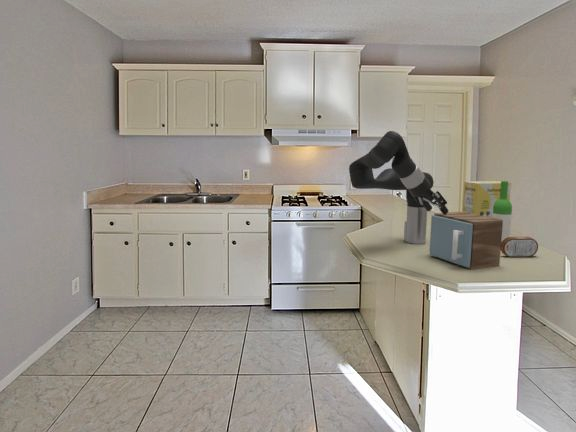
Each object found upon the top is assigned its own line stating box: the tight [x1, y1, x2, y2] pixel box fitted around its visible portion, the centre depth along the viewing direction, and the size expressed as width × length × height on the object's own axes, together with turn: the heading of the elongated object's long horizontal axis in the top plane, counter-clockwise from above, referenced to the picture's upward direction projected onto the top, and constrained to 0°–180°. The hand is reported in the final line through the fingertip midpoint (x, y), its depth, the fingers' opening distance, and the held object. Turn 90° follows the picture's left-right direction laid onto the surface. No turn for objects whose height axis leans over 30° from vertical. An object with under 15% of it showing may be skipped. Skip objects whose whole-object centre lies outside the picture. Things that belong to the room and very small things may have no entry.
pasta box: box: [461, 180, 512, 218], centre depth 222 cm, size 18×10×28 cm, turn 103°
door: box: [429, 214, 473, 268], centre depth 177 cm, size 21×6×16 cm, turn 23°
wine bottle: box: [492, 180, 513, 243], centre depth 205 cm, size 8×8×30 cm
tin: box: [500, 236, 539, 258], centre depth 189 cm, size 15×3×8 cm, turn 92°
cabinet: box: [431, 211, 503, 270], centre depth 181 cm, size 22×14×18 cm, turn 23°
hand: (438, 211), depth 165 cm, fingers open, 8 cm apart
